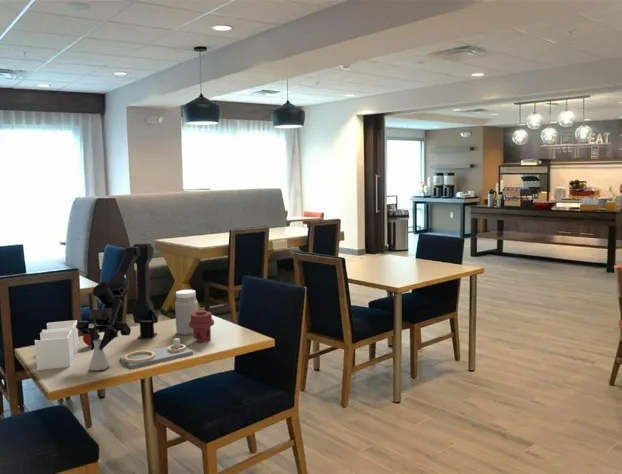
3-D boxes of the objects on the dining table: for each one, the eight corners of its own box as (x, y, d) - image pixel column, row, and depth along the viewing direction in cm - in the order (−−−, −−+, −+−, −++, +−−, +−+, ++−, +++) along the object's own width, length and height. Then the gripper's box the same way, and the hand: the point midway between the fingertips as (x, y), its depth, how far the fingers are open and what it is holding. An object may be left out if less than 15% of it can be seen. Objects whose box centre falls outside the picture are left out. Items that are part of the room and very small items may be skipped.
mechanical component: (218, 337, 235) (209, 344, 225) (195, 336, 237) (186, 343, 227) (217, 308, 233) (207, 314, 224) (194, 307, 235) (184, 314, 226)
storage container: (70, 367, 205) (67, 337, 203) (37, 370, 202) (34, 341, 200) (79, 346, 228) (76, 320, 227) (49, 349, 226) (47, 323, 224)
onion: (102, 345, 229) (100, 325, 228) (91, 349, 224) (89, 329, 223) (91, 343, 231) (90, 324, 230) (80, 347, 226) (78, 328, 225)
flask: (92, 364, 205) (90, 338, 204) (112, 364, 205) (111, 337, 204) (85, 371, 198) (84, 343, 196) (106, 370, 198) (105, 343, 197)
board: (130, 368, 200) (129, 354, 200) (119, 360, 210) (118, 346, 209) (193, 354, 214) (192, 340, 214) (180, 346, 224) (179, 333, 223)
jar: (196, 335, 238) (194, 293, 236) (173, 336, 238) (171, 294, 236) (201, 329, 248) (199, 288, 246) (179, 329, 248) (177, 289, 246)
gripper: (76, 299, 204) (60, 338, 194) (124, 299, 201) (111, 339, 191) (90, 314, 212) (75, 352, 203) (136, 315, 209) (124, 354, 200)
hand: (96, 349), depth 199 cm, fingers closed on flask, 3 cm apart
